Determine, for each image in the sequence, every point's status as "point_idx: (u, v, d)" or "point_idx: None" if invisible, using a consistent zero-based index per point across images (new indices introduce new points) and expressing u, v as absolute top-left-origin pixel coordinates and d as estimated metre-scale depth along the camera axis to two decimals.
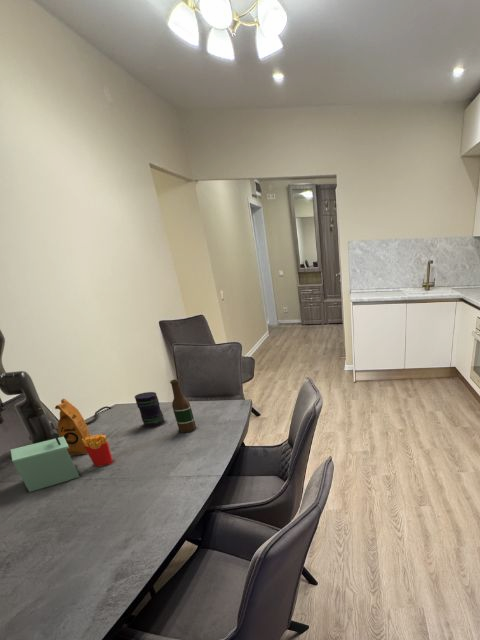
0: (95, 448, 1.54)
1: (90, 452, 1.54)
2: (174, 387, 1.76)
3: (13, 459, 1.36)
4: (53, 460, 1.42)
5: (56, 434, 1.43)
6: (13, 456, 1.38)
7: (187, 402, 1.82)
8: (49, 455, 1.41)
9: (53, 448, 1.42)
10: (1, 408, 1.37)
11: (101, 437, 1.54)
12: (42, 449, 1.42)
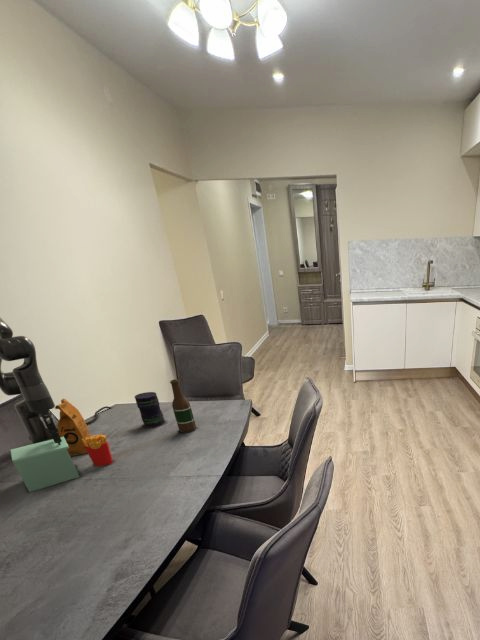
0: (95, 448, 1.54)
1: (90, 452, 1.54)
2: (174, 387, 1.76)
3: (13, 459, 1.36)
4: (53, 460, 1.42)
5: None
6: (13, 456, 1.38)
7: (187, 402, 1.82)
8: (49, 455, 1.41)
9: (53, 448, 1.42)
10: None
11: (101, 437, 1.54)
12: (42, 449, 1.42)
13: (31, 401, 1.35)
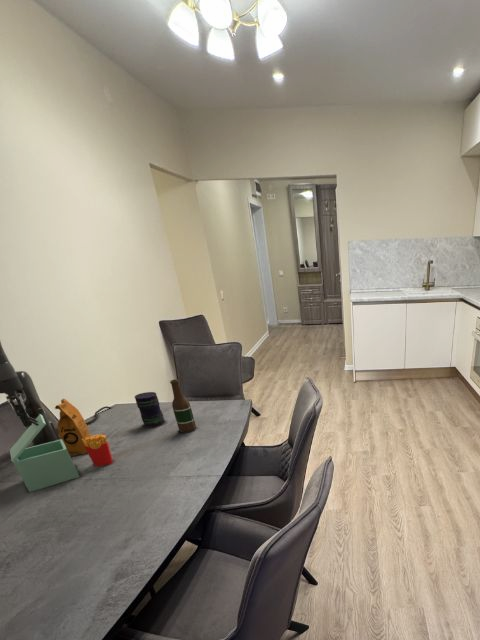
0: (95, 448, 1.54)
1: (90, 452, 1.54)
2: (174, 387, 1.76)
3: (12, 459, 1.35)
4: (53, 460, 1.42)
5: None
6: (11, 456, 1.37)
7: (187, 402, 1.82)
8: (49, 455, 1.41)
9: (34, 431, 1.37)
10: None
11: (101, 437, 1.54)
12: (27, 437, 1.38)
13: None
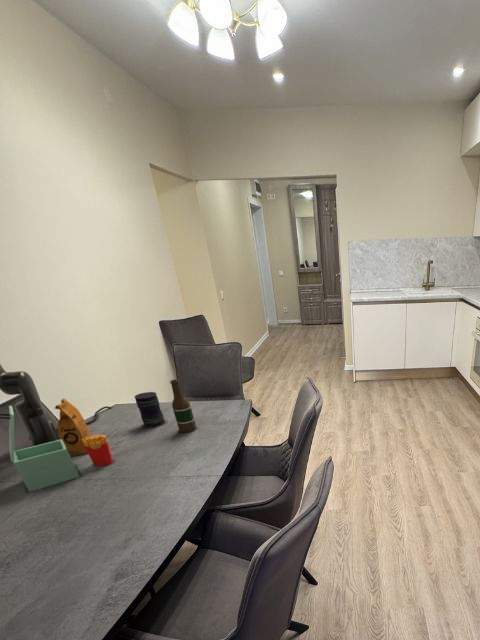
0: (95, 448, 1.54)
1: (90, 452, 1.54)
2: (174, 387, 1.76)
3: (11, 459, 1.35)
4: (53, 460, 1.42)
5: None
6: (10, 456, 1.37)
7: (187, 402, 1.82)
8: (49, 455, 1.41)
9: (10, 426, 1.32)
10: None
11: (101, 437, 1.54)
12: (10, 433, 1.35)
13: None
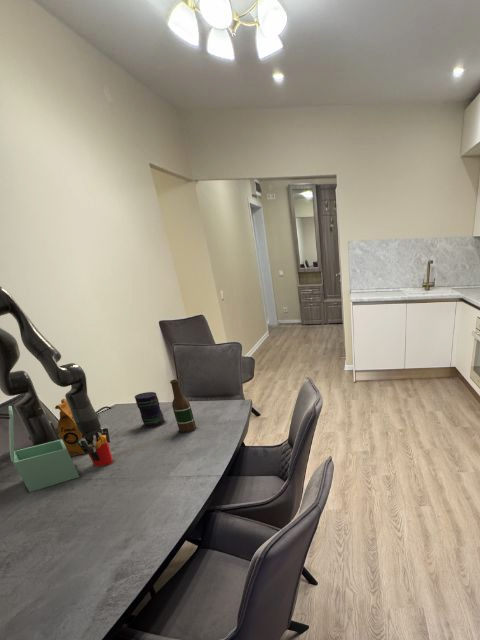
0: None
1: None
2: (174, 387, 1.76)
3: (11, 459, 1.35)
4: (53, 460, 1.42)
5: None
6: (10, 456, 1.37)
7: (187, 402, 1.82)
8: (49, 455, 1.41)
9: (10, 426, 1.32)
10: (109, 440, 1.60)
11: (101, 437, 1.54)
12: None
13: (75, 422, 1.47)
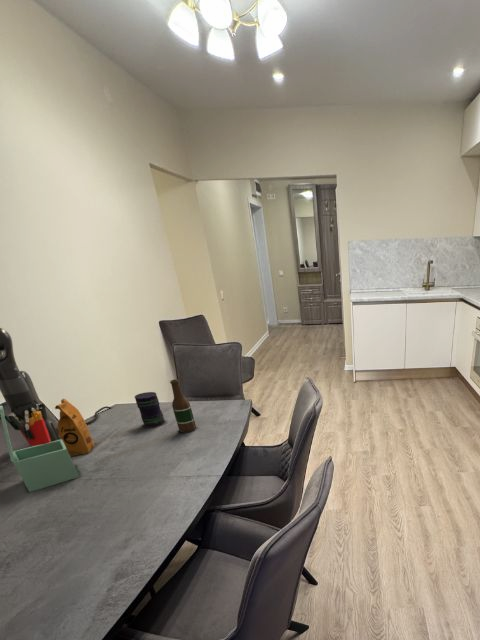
0: None
1: None
2: (174, 387, 1.76)
3: None
4: (53, 460, 1.42)
5: None
6: None
7: (187, 402, 1.82)
8: (49, 455, 1.41)
9: (3, 426, 1.31)
10: (46, 417, 1.44)
11: (35, 413, 1.38)
12: None
13: (2, 394, 1.32)
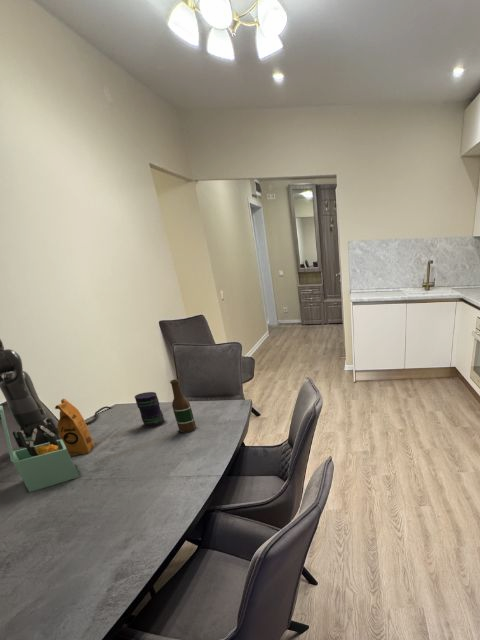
0: None
1: None
2: (174, 387, 1.76)
3: None
4: (53, 460, 1.42)
5: None
6: None
7: (187, 402, 1.82)
8: (49, 455, 1.41)
9: (3, 426, 1.31)
10: (57, 430, 1.48)
11: (52, 448, 1.44)
12: None
13: None
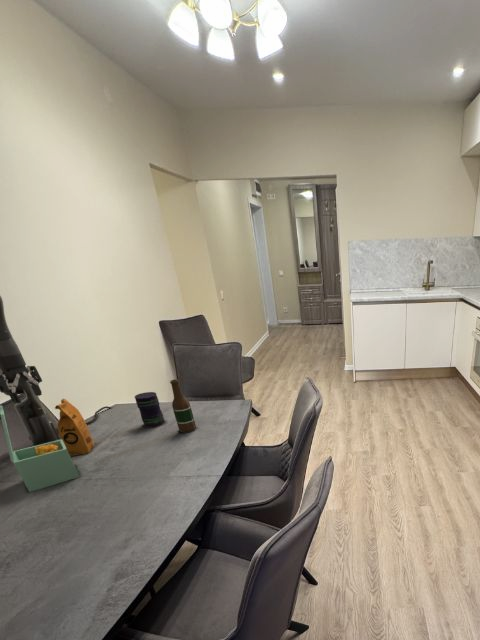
0: None
1: None
2: (174, 387, 1.76)
3: None
4: (53, 460, 1.42)
5: None
6: None
7: (187, 402, 1.82)
8: (49, 455, 1.41)
9: (3, 426, 1.31)
10: (41, 379, 1.45)
11: (52, 448, 1.44)
12: None
13: None
